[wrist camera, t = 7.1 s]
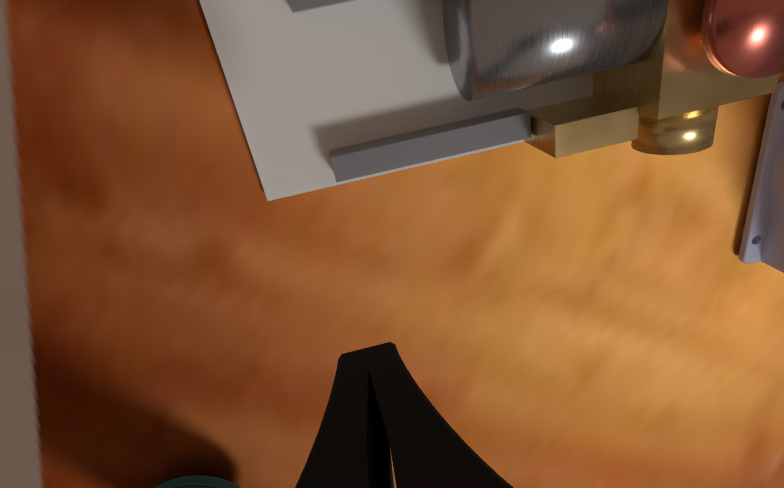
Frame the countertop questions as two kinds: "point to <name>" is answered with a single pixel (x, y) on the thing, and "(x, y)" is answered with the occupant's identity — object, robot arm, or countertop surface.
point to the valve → (673, 82)
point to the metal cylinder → (543, 40)
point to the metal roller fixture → (357, 90)
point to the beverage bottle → (197, 482)
